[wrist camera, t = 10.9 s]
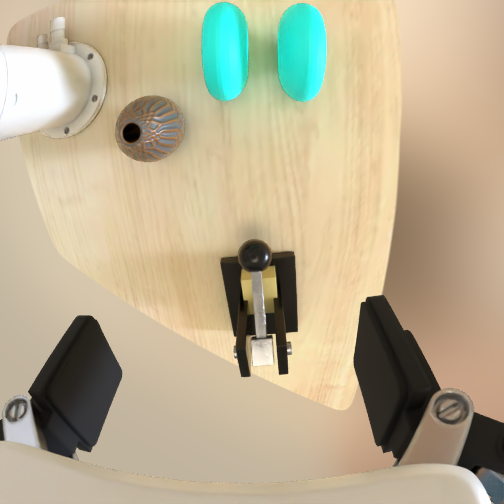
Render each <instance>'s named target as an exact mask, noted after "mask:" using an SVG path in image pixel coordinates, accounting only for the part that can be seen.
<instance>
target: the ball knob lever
mask: <svg viewBox="0 0 504 504" xmlns="http://www.w3.org/2000/svg"><path fill="white" fill-rule="evenodd" d="M238 261H239V264H240V265H241V267H242V268H243V269H244V270H245V271H247V272H250V273H251V281H252V294H253V306H254V317H255V329H256V336H254V337H252V338H251V352H252V364H253V366H264V365H274V350H273V337H272V335H267V329H266V317H265V305H264V293H263V281H262V272H263V271H264V270H266V269H267V268H268V267H269V265H270V263H271V261H272V252H271V249H270V247H269V246H268V245H267V244H266V243H265V242H264V241H262V240H259V239H251V240H248V241H246V242H245V243H243V245H242V246H241V247H240V249H239V251H238Z"/></svg>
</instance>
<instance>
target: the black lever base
mask: <svg viewBox="0 0 504 504" xmlns="http://www.w3.org/2000/svg"><path fill="white" fill-rule="evenodd" d="M220 264H221V269H222V275H223V280H224V286H225V291H226V296H227V302H228V307H229V312H230V317H231V323H232V328H233V333H234V337H236V346H234V357H235V358H237V359H238V364H239V368H240V373H241V377H250V376H251V375H250V374H251V338H252V335H256V329H255V317H254V314H250V311H249V304H248V300H244V299H243V292H242V286H241V273H242V269H243V268H242V267H241V265H240V264H239V261H238V257H229V258H221V263H220ZM269 266H275V274H276V285H277V298H273V301H274V313H265V317H266V329H267V334H276V345H277V357H278V370H279V375H282V374H288V357H287V355H291V354H292V348H291V342H286V333H289V332H298V320H297V292H296V269H295V255H294V252H284V253H273V254H272V261H271V263H270V265H269Z"/></svg>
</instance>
